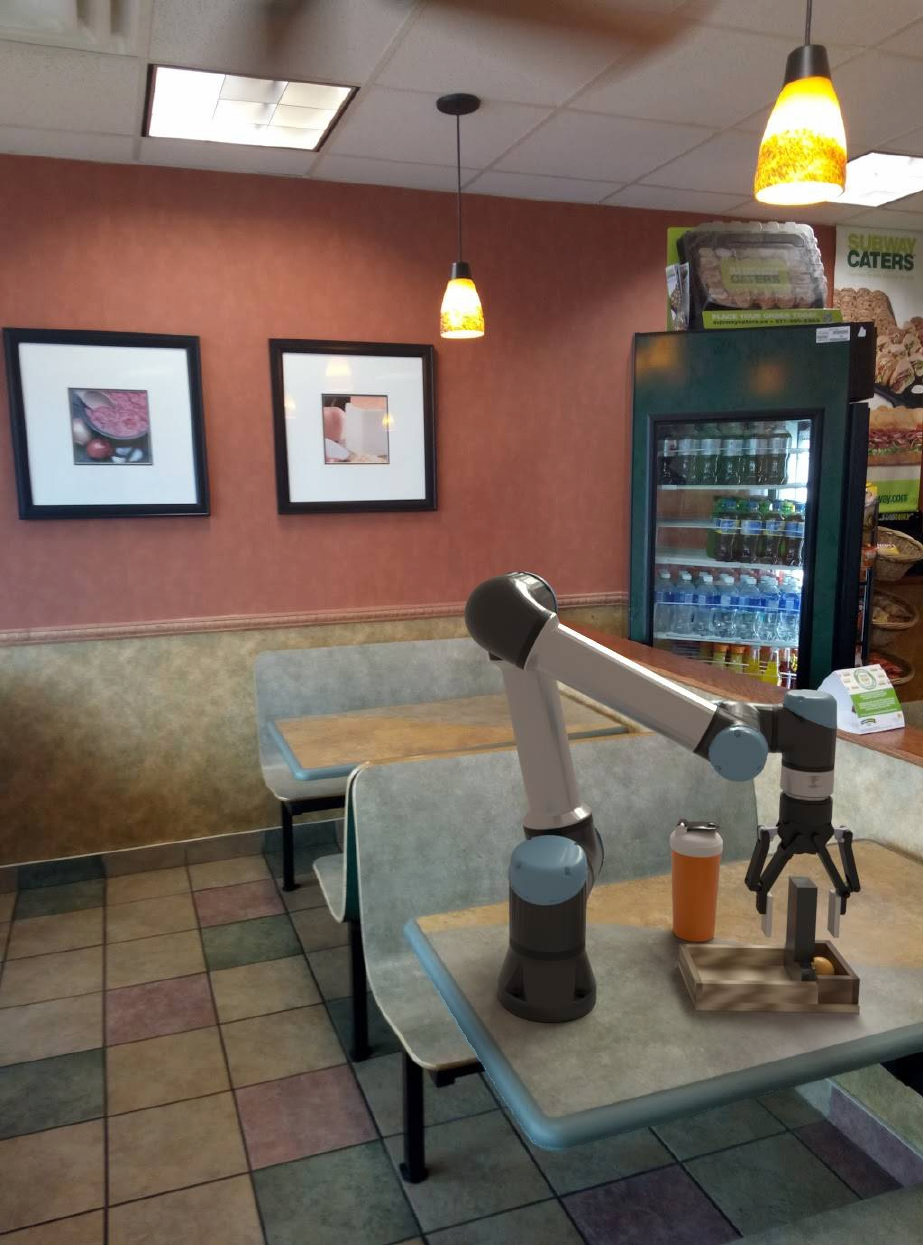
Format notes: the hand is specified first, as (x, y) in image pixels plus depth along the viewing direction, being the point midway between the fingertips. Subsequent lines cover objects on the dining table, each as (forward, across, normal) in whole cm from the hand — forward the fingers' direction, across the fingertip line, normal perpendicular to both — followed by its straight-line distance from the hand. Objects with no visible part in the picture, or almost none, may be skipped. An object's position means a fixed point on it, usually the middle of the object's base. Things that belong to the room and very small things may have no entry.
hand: (799, 933), depth 138 cm
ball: (+6, +4, 0) cm, 7 cm away
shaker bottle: (+9, -12, +18) cm, 24 cm away
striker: (+8, 0, 0) cm, 8 cm away
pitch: (+9, -5, 0) cm, 10 cm away
